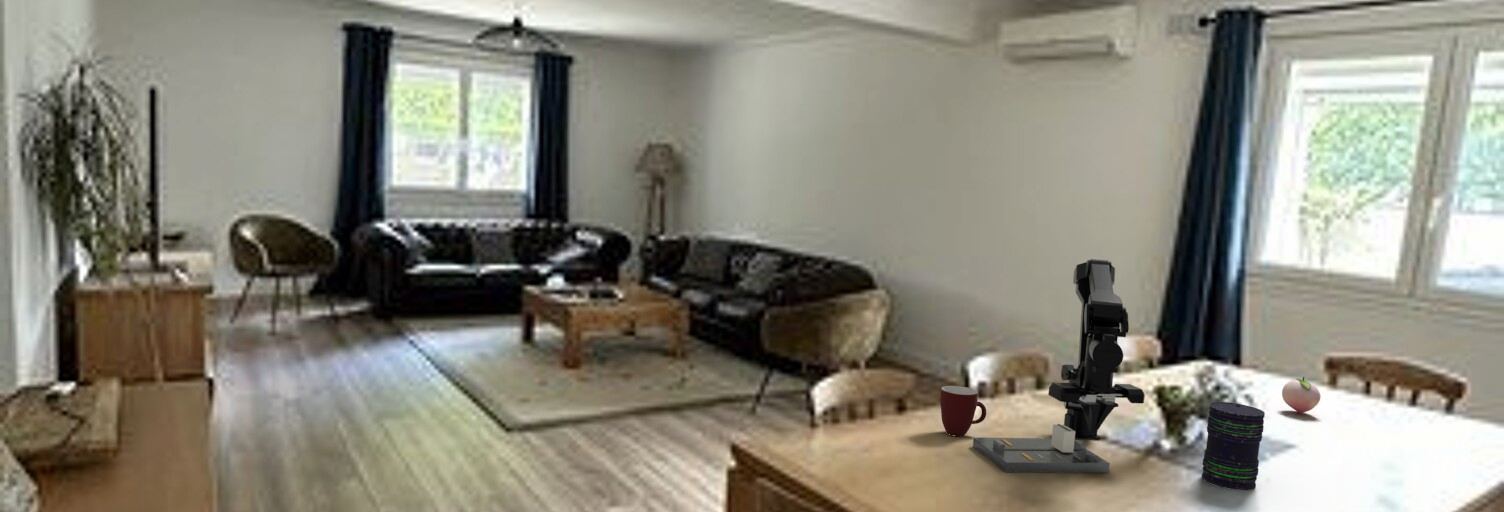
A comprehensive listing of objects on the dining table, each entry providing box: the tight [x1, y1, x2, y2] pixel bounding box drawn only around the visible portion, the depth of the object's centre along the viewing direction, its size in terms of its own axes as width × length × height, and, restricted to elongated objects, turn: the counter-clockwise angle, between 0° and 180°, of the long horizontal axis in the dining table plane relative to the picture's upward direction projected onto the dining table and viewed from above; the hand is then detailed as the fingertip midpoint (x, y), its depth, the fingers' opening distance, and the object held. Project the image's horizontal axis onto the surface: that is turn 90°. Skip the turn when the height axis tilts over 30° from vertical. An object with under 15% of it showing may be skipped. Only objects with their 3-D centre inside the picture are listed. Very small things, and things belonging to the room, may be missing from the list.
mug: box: [939, 385, 987, 437], centre depth 203 cm, size 11×8×10 cm
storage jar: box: [1201, 401, 1266, 492], centre depth 181 cm, size 10×10×15 cm
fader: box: [1051, 423, 1076, 452], centre depth 189 cm, size 2×5×5 cm, turn 10°
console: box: [972, 437, 1110, 474], centre depth 189 cm, size 22×16×4 cm
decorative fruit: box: [1281, 376, 1321, 414], centre depth 243 cm, size 9×8×10 cm
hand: (1092, 433), depth 190 cm, fingers closed
